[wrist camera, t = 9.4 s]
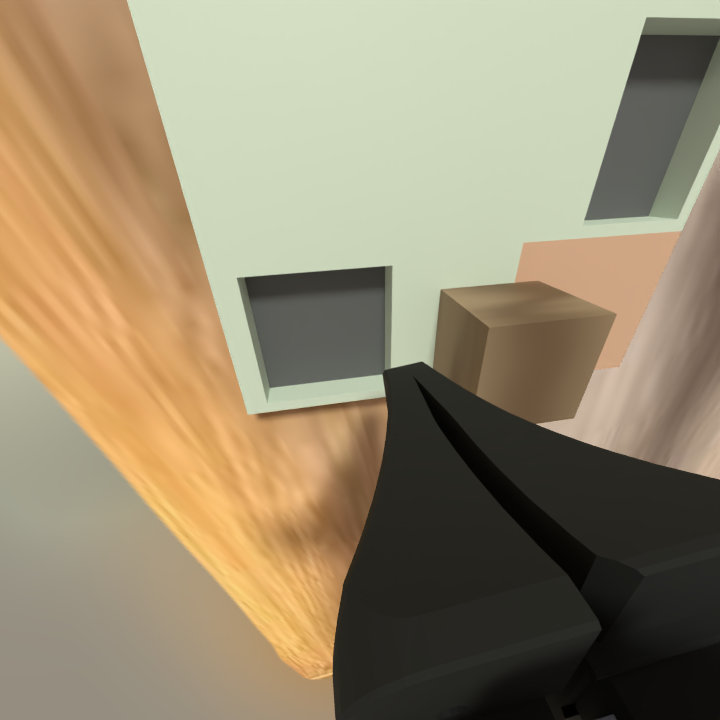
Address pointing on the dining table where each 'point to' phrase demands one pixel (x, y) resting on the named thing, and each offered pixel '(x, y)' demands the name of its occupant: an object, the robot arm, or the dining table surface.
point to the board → (425, 165)
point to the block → (521, 346)
